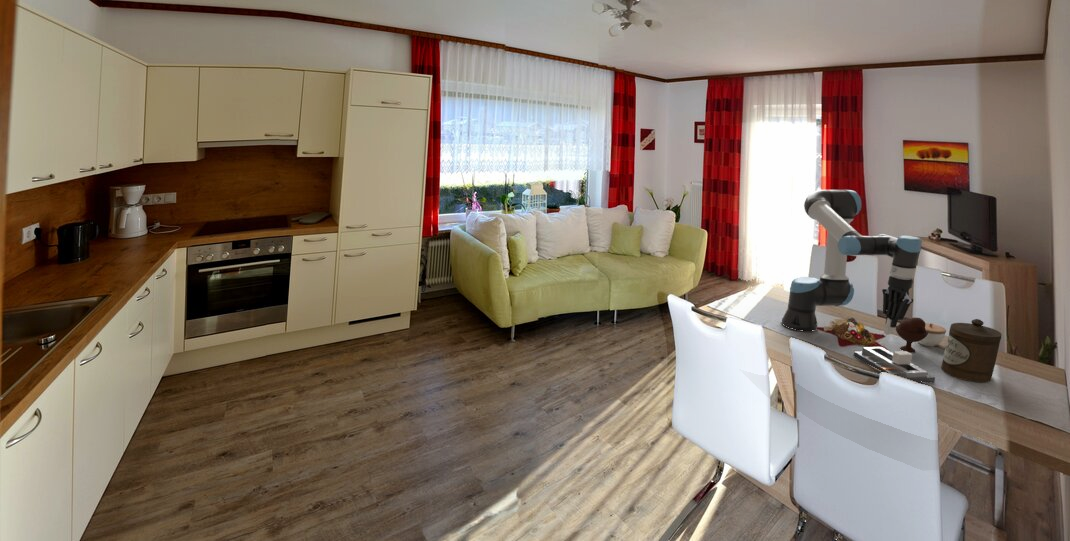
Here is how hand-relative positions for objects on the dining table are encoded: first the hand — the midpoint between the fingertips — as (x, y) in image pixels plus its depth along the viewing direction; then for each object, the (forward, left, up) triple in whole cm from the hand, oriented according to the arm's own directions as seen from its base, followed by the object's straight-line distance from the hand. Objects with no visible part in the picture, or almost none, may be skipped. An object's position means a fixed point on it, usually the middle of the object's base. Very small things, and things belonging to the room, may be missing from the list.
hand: (888, 333), depth 195 cm
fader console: (+5, 0, -13) cm, 14 cm away
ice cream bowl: (-11, +20, -13) cm, 26 cm away
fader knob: (+8, 0, -11) cm, 14 cm away
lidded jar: (-17, +34, -13) cm, 40 cm away
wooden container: (+11, +25, -13) cm, 30 cm away
